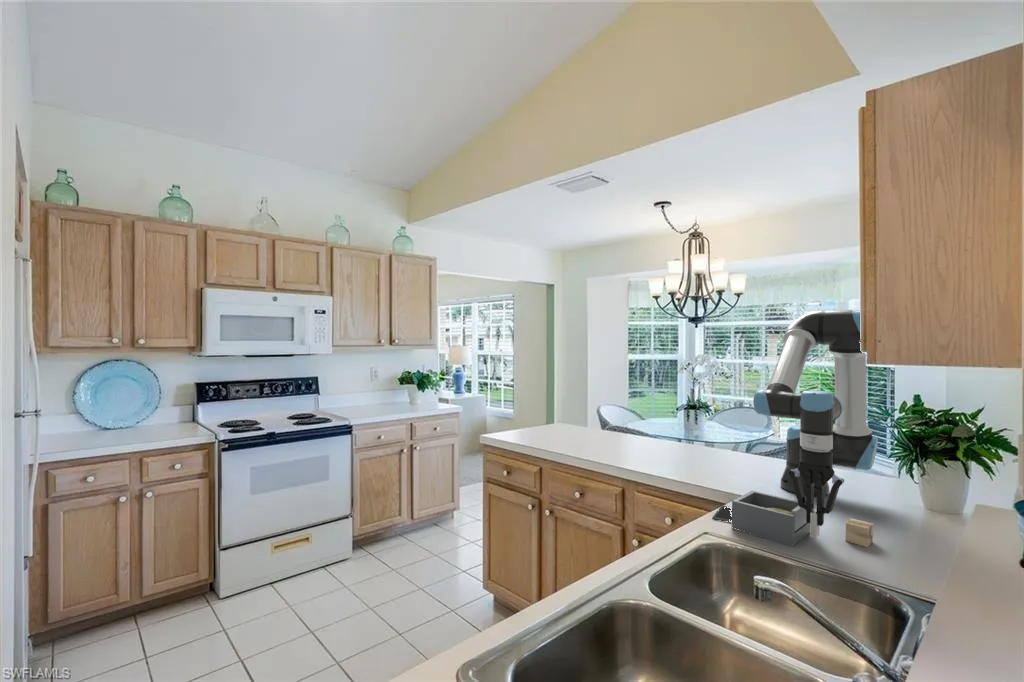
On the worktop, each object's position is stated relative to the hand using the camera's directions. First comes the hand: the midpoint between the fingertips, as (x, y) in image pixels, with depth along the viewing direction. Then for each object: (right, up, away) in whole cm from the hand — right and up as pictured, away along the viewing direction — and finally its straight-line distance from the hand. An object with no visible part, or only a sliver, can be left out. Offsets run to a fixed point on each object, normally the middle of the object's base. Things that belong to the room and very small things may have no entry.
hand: (814, 535), depth 133 cm
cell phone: (-14, -2, +20) cm, 25 cm away
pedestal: (+13, -2, +1) cm, 13 cm away
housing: (-8, -2, +8) cm, 11 cm away
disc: (-6, +2, +7) cm, 9 cm away
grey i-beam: (-7, +2, +8) cm, 10 cm away
